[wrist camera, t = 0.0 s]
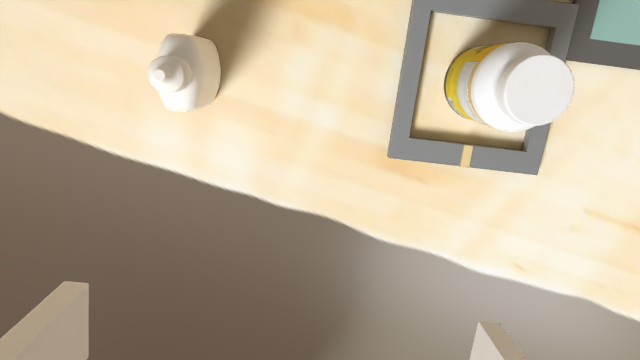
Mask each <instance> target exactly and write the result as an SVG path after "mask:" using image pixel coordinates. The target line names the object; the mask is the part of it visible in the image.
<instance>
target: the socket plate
mask: <svg viewBox="0 0 640 360" xmlns="http://www.w3.org/2000/svg"><path fill="white" fill-rule="evenodd" d="M578 7H579V5H577V4H570V3H563V2H556V1H549V0H412V6H411V12H410V18H409V25H408V31H407V37H406V43H405V49H404V55H403V62H402V68H401V74H400V80H399V86H398V92H397V99H396V105H395V111H394V117H393V123H392V129H391V136H390V142H389V148H388V154H387V156H388V157H389V158H394V159H403V160H411V161H420V162H429V163H437V164H446V165H454V166H460V167H468V168H469V167H472V168H480V169H489V170H497V171H506V172H514V173H523V174H532V175H537V174H538V170H539V166H540V162H541V158H542V154H543V150H544V146H545V142H546V138H547V134H548V130H549V125H550V123H547V124H544V125H539V126H534V127H532V128H530V129H527V130H526V134H525V138H524V143H523V147H522V150H515V149H507V148H499V147H490V146H482V145H474V144H465V143H457V142H448V141H440V140H432V139H423V138H415V137H409V135H410V129H411V124H412V118H413V112H414V106H415V100H416V95H417V89H418V83H419V77H420V71H421V66H422V60H423V54H424V48H425V42H426V37H427V31H428V25H429V19H430V13H431V12H437V13H445V14H452V15H459V16H467V17H474V18H481V19H489V20H496V21H503V22H511V23H518V24H525V25H533V26H540V27H547V28H550V31H549V36H548V40H547V44H546V49H545V50H546V51H547V52H548V53H550V54H551V55H552V56H555V57H557V58H559V59H561V60H562V61H563V62H565V60H566V56H567V52H568V48H569V44H570V40H571V36H572V32H573V28H574V24H575V20H576V16H577V12H578Z"/></svg>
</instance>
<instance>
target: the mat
mask: <svg viewBox="0 0 640 360" xmlns="http://www.w3.org/2000/svg"><path fill="white" fill-rule="evenodd" d="M573 4H577V5H579V7H578V12H577V16H576V20H575V24H574V28H573V32H572V36H571V40H570V44H569V48H568V52H567V56H566V60H569V61H577V62H584V63H592V64H599V65H607V66H614V67H622V68H629V69H637V70H640V0H574V2H573Z"/></svg>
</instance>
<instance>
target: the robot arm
mask: <svg viewBox="0 0 640 360" xmlns="http://www.w3.org/2000/svg"><path fill="white" fill-rule="evenodd" d="M88 287H89V285H88V284H87V283H79V282H68V281H64V282H63V283H62V284H61V285H60V286H59V287H58V288H56V289H55V290H54V291H53V292H52V293H51V294H50V295H49V296H47V297H46V298H45V299H44V300H43V301H42V302H41V303H40V304H39V305H38V306H37V307H35V308H34V309H33V310H32V311H31V312H30V313H28V314H27V315H26V316H25V317H24V318H23V319H22V320H21V321H20V322H18V324H16V325H15V326H14V327H13V328H12V329H11V330H10V331H8V332H7V333H6V334H5V335H4V336H3V337H2V338H1V339H0V360H86V359H87V358H88V311H89V310H88V308H89V302H88V301H89V300H88V299H89V293H88V292H89V288H88ZM470 360H527V359H526V357H525V356H524V355H523V353H522V352H521V351H520V349H519V348H518V347H517V345H516V344H515V343H514V341H513V340H512V339H511V337H510V336H509V335H508V334H507V332H506V331H505V329H504V328H503V327H502V326H501V324H499V323H488V322H478V326H477V331H476V335H475V339H474V344H473V348H472V352H471V356H470Z"/></svg>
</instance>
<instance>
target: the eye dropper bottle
mask: <svg viewBox="0 0 640 360" xmlns="http://www.w3.org/2000/svg"><path fill="white" fill-rule="evenodd" d="M148 76H149V77H148V78H149V80H150V83H151V84H152V85H153V87H154V88H156V89H157V90H158V92H159V95H160V97H161V100H162V102H163V104H164V105H165V107H166V108H167V109H169V110H171V111H179V112H191V111H195V110H197V109H200V108H203V107H205V106H207V105H210V104H211V103H212V102H213V101H214V99H215V97H216V94H217V92H218V88H219V84H220V77H221V67H220V60H219V55H218V52H217V49H216V46H215V44H214V43H213V42H212V41H211V40H209V39H205V38H201V37H197V36H193V35H186V34H169V35H167V36H166V37H165V38H164V40H163V42H162V44H161V46H160V48H159V51H158V55H157V58H156V59H155V60H153V61H152V63H151V64H150V66H149V69H148Z"/></svg>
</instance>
